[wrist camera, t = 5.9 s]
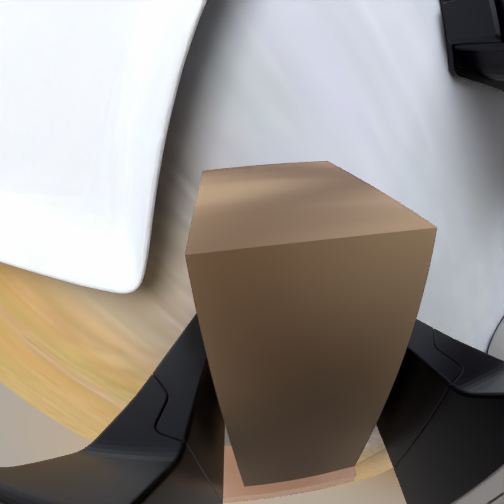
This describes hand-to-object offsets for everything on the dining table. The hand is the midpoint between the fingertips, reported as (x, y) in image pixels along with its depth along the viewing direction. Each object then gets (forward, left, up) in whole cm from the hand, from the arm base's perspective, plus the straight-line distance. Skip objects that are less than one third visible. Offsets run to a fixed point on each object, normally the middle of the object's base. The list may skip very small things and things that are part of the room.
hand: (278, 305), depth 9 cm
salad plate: (+12, -11, -8) cm, 18 cm away
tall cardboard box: (0, +3, -1) cm, 3 cm away
